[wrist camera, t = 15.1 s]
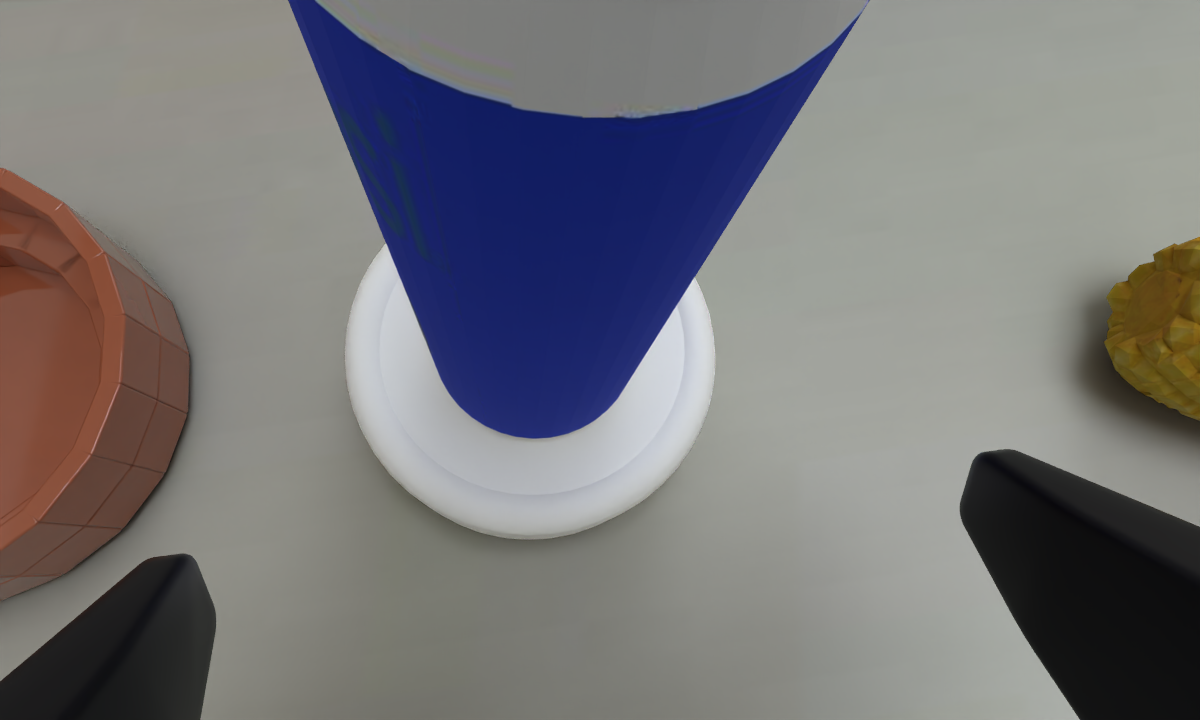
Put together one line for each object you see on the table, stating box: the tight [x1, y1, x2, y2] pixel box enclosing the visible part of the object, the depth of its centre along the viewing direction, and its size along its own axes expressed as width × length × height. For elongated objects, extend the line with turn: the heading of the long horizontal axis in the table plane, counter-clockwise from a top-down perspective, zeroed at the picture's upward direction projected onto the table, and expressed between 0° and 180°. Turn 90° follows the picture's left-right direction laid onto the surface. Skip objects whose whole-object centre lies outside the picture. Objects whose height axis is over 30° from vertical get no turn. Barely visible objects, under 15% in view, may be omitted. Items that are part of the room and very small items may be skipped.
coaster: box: [344, 243, 715, 540], centre depth 21 cm, size 10×10×4 cm
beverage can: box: [288, 0, 869, 439], centre depth 12 cm, size 5×5×15 cm
